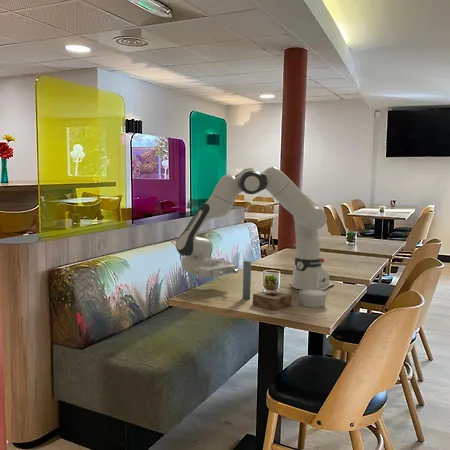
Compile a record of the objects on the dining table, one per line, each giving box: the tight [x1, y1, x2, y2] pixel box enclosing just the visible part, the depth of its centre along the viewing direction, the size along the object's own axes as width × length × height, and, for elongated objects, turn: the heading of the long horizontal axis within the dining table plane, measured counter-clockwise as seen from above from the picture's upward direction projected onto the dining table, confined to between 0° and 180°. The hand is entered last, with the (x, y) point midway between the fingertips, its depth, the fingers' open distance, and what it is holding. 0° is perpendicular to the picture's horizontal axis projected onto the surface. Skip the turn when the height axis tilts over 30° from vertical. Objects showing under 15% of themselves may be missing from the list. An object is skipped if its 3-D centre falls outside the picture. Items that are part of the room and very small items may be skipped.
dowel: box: [242, 260, 252, 300], centre depth 195 cm, size 3×3×16 cm
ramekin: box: [298, 289, 328, 309], centre depth 189 cm, size 11×11×5 cm
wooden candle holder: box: [252, 289, 293, 312], centre depth 186 cm, size 11×11×4 cm
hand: (229, 272), depth 203 cm, fingers open, 8 cm apart
